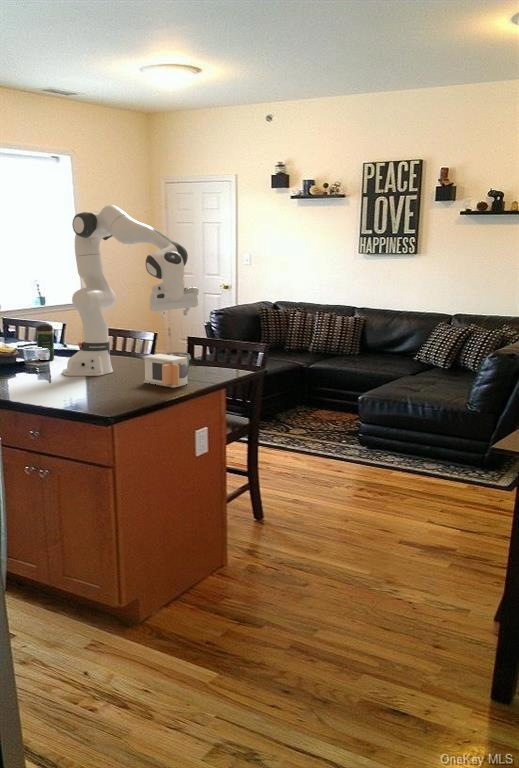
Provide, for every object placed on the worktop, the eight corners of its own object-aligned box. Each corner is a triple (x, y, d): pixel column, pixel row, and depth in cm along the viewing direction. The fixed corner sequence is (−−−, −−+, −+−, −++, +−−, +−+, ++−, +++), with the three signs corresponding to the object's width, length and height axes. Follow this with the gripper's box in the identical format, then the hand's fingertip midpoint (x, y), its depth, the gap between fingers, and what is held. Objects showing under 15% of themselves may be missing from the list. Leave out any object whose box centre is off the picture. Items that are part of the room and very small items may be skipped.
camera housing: (143, 383, 276) (143, 356, 274) (159, 379, 284) (159, 353, 282) (174, 388, 266) (174, 361, 264) (190, 384, 274) (190, 357, 272)
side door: (156, 384, 266) (155, 364, 264) (164, 382, 270) (163, 362, 268) (171, 387, 261) (171, 366, 260) (179, 385, 265) (179, 365, 263)
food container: (195, 375, 296) (195, 353, 294) (189, 377, 291) (188, 355, 289) (173, 372, 301) (172, 351, 299) (165, 374, 296) (165, 353, 294)
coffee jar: (54, 361, 325) (52, 324, 322) (38, 361, 323) (36, 324, 319) (54, 358, 334) (52, 322, 331) (38, 358, 332) (36, 322, 328)
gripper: (196, 282, 272) (196, 308, 281) (148, 287, 267) (149, 313, 276) (199, 291, 267) (199, 317, 277) (150, 296, 263) (151, 322, 272)
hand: (174, 315), depth 277 cm, fingers open, 8 cm apart
